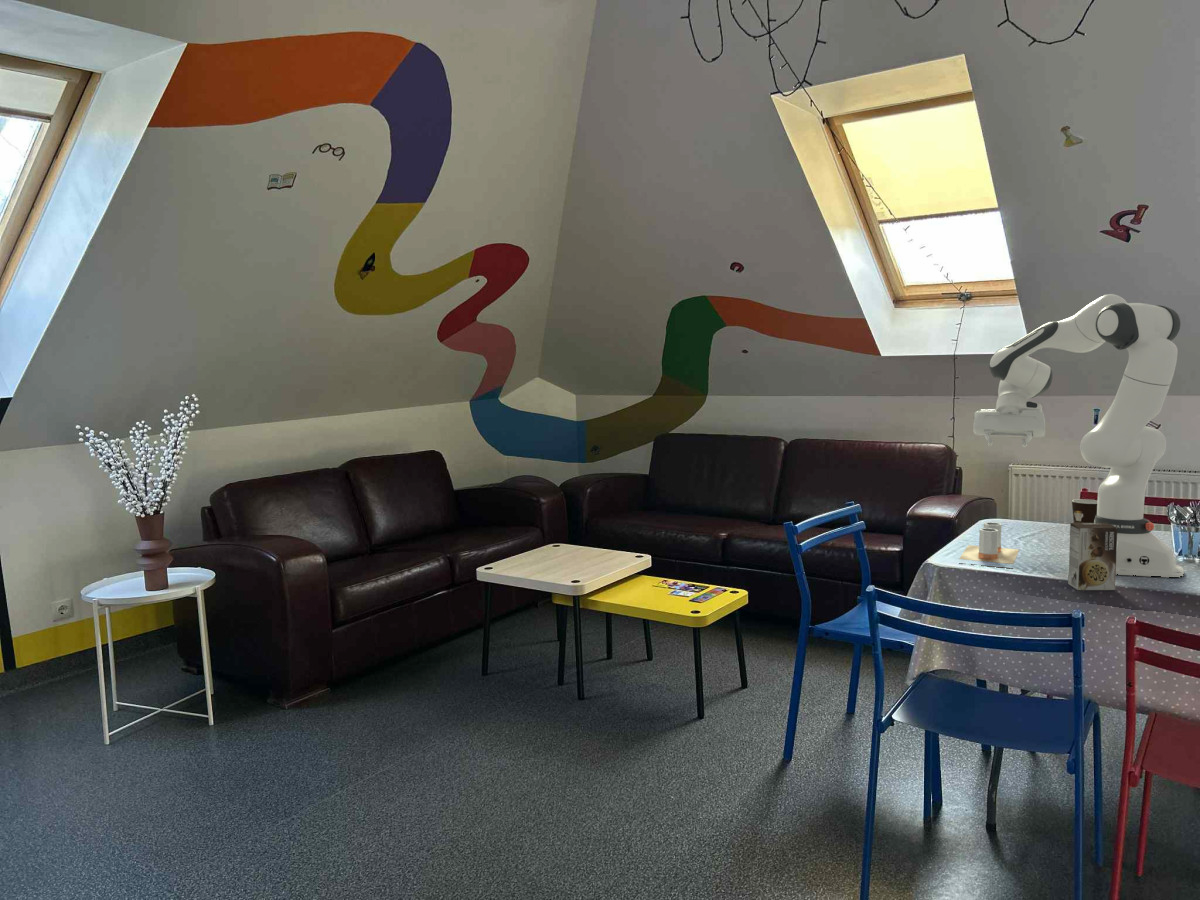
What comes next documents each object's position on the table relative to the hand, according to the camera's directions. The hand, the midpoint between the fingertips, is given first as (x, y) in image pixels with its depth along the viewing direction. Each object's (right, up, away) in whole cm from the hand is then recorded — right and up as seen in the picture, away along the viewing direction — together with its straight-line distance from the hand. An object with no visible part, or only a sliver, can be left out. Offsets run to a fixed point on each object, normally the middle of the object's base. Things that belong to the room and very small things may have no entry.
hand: (1006, 444), depth 273 cm
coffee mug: (+37, -29, +24) cm, 52 cm away
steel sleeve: (-13, -32, -16) cm, 38 cm away
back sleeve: (-8, -31, -7) cm, 33 cm away
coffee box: (+2, -37, -43) cm, 57 cm away
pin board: (-10, -33, -12) cm, 36 cm away
